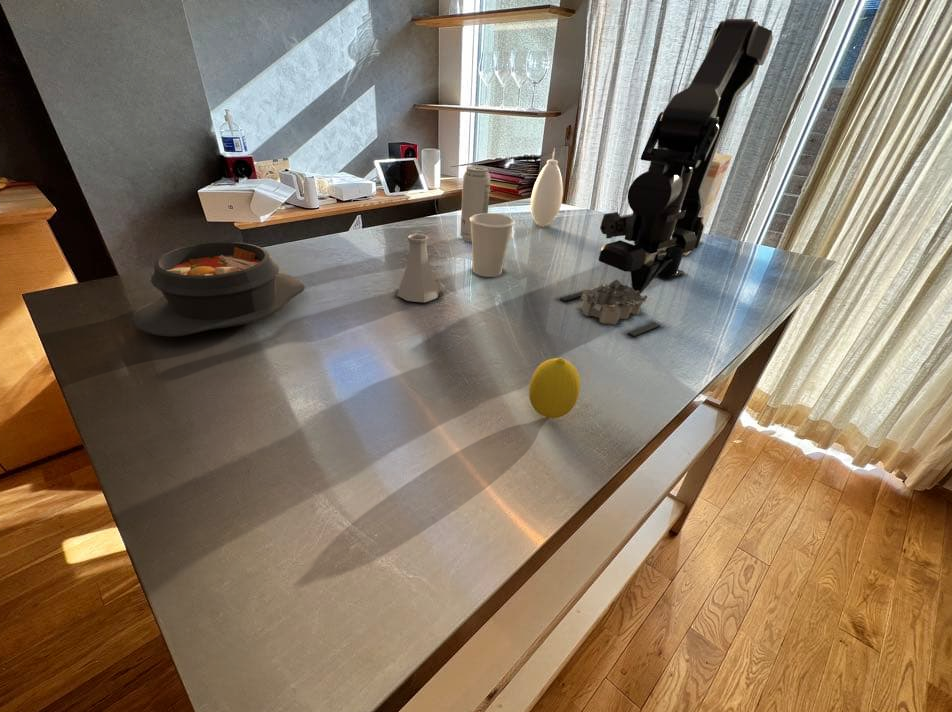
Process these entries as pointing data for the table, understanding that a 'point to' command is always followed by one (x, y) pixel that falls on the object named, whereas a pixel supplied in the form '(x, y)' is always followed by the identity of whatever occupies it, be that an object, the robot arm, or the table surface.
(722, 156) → the coffeecake box
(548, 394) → the lemon
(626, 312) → the tan rough lump
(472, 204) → the energy drink can
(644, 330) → the bay strips
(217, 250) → the casserole
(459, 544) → the table surface
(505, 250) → the dixie cup
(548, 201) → the air blower bulb
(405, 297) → the flask
